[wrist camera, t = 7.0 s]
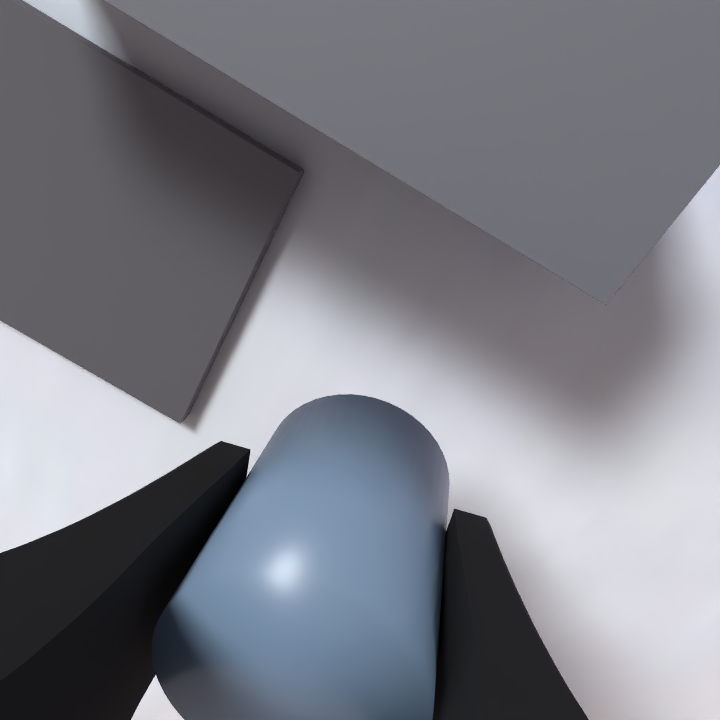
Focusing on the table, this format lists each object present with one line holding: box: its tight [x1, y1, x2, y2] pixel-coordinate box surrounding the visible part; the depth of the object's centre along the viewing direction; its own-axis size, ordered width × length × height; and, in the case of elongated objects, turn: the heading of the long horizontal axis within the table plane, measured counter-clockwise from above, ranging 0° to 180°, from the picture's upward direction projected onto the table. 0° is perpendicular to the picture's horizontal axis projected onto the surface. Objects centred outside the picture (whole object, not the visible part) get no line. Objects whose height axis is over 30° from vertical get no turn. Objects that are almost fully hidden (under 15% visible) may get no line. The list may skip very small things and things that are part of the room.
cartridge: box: [152, 394, 449, 720], centre depth 10 cm, size 4×4×5 cm
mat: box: [0, 0, 304, 423], centre depth 19 cm, size 10×10×1 cm
